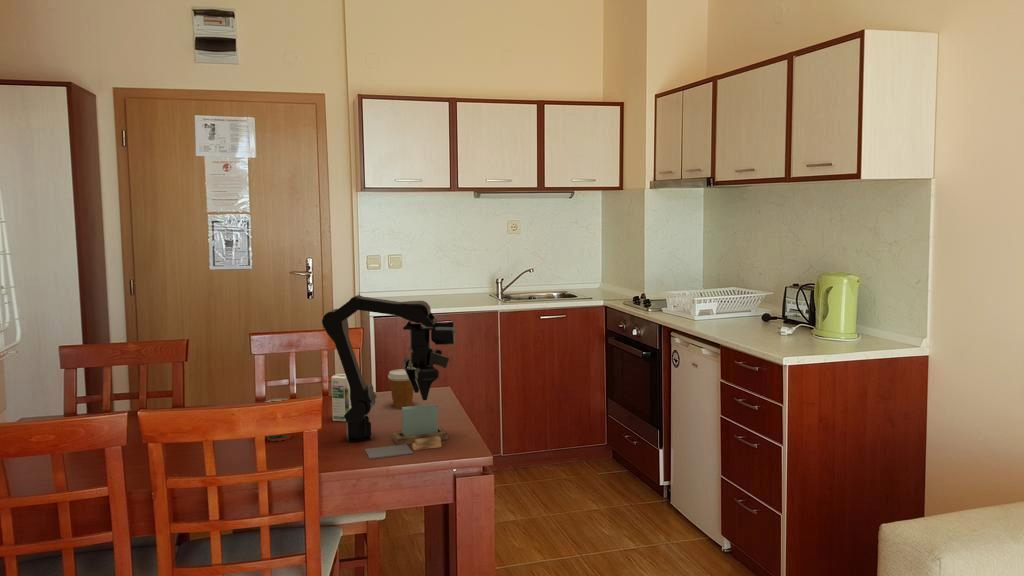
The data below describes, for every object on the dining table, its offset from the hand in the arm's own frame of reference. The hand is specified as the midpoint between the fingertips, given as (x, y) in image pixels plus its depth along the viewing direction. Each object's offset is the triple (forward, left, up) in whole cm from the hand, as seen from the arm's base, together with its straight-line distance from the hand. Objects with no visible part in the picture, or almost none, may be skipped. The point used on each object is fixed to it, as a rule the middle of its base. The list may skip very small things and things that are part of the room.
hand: (420, 396), depth 227 cm
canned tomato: (-40, +17, -13) cm, 45 cm away
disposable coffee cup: (+2, +37, -13) cm, 40 cm away
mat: (-12, -9, -13) cm, 19 cm away
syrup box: (-19, +29, -13) cm, 37 cm away
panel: (-1, -1, -13) cm, 13 cm away
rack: (-1, -1, -13) cm, 13 cm away
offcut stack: (-1, -8, -13) cm, 15 cm away
